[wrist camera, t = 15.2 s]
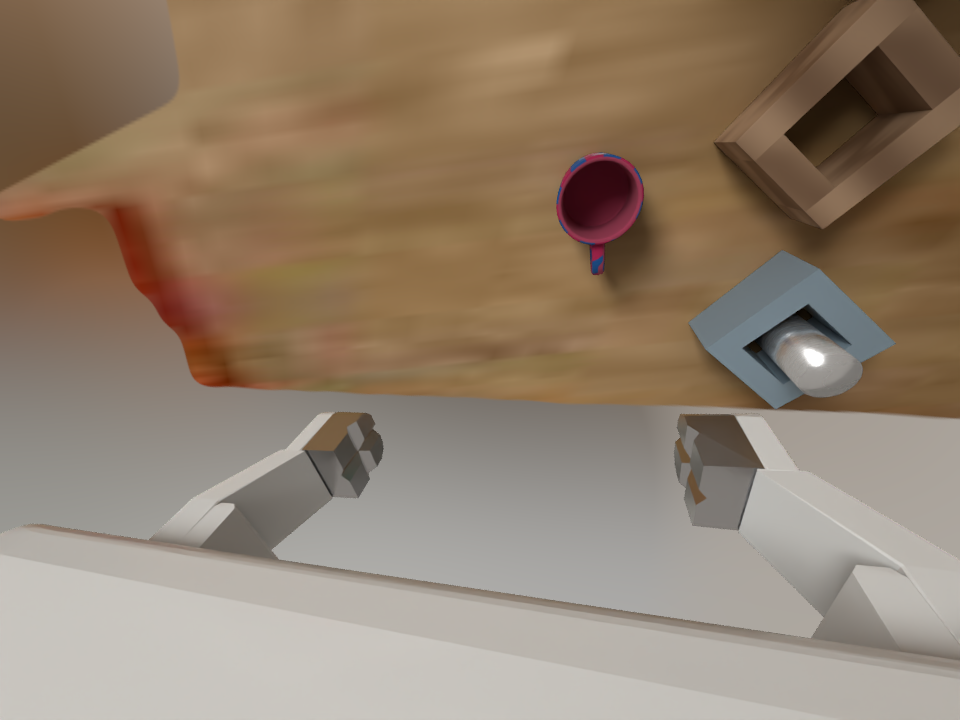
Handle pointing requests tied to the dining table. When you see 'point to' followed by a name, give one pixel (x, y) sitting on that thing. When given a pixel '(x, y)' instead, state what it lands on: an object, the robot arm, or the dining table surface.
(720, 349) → the socket
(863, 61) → the mount
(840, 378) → the pin
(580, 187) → the mug
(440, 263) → the dining table surface
